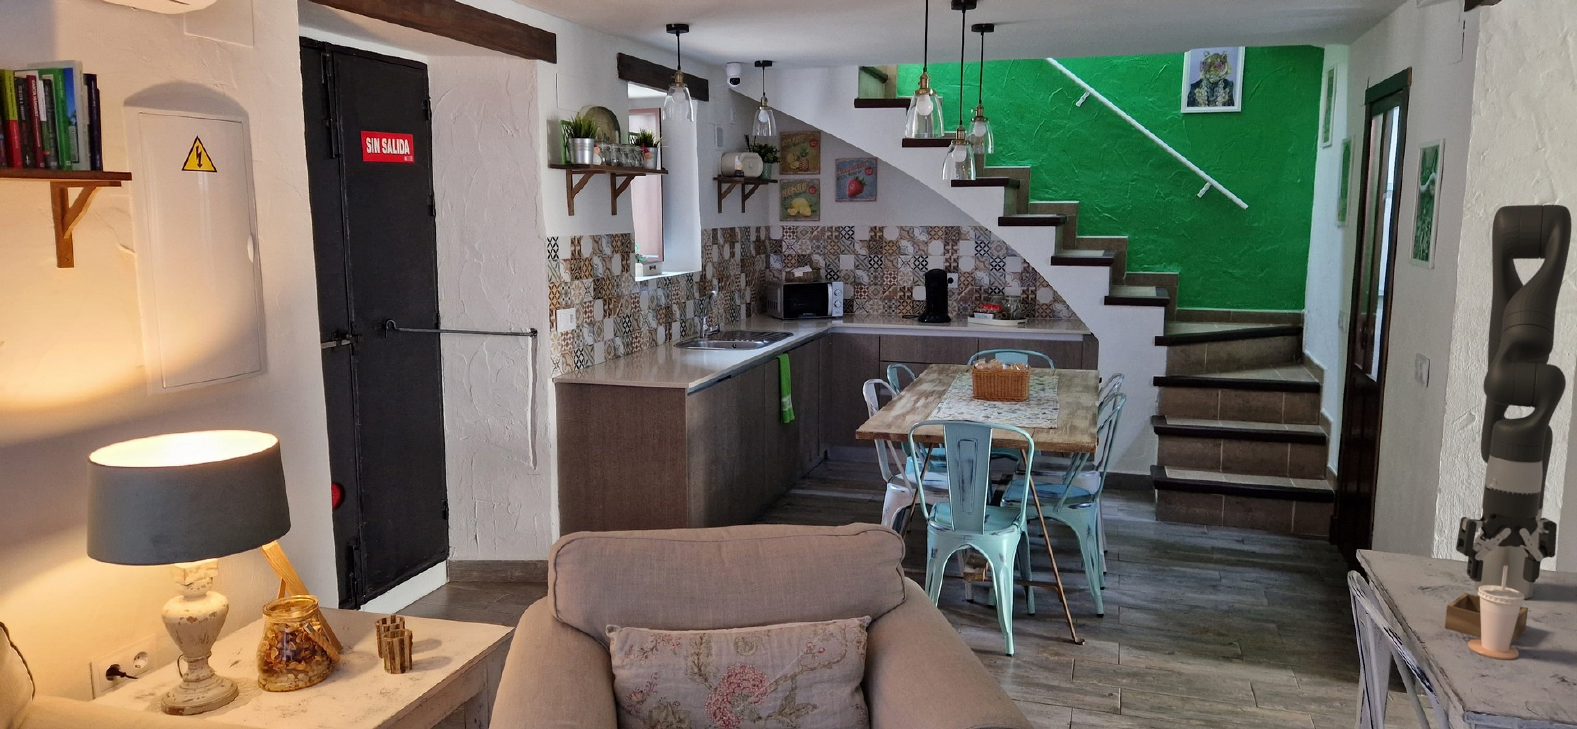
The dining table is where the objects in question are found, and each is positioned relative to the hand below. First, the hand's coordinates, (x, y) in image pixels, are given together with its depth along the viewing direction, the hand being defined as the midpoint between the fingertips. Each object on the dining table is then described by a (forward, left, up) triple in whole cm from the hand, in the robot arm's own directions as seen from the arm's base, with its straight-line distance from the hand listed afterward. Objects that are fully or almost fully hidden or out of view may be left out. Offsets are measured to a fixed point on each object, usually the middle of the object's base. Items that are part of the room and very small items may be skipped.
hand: (1501, 580), depth 174 cm
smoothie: (0, 0, -12) cm, 12 cm away
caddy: (-9, -4, -12) cm, 16 cm away
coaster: (0, 0, -12) cm, 12 cm away
